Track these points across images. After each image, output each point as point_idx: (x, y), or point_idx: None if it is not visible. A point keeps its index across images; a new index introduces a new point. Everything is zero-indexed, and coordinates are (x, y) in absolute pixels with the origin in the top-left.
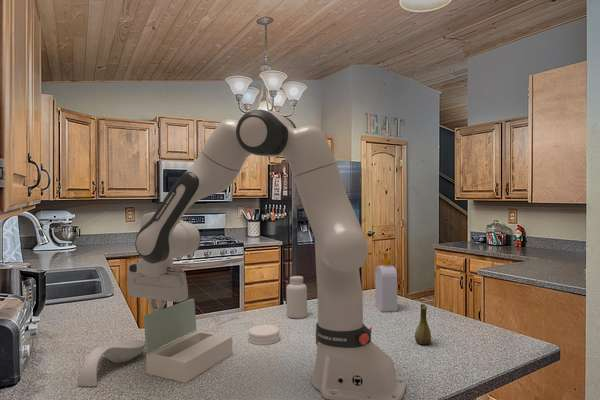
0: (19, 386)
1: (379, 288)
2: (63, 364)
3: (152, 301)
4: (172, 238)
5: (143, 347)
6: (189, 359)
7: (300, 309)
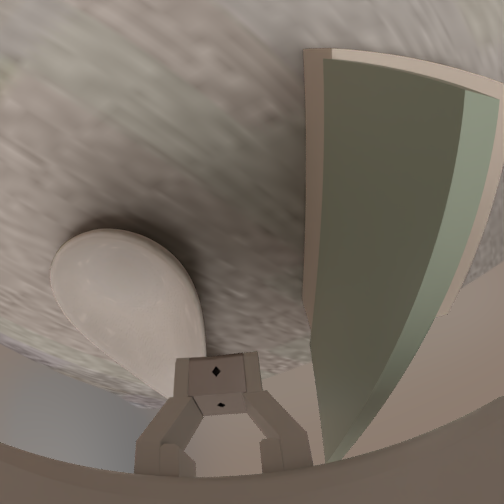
0: (131, 400)
1: None
2: (72, 349)
3: (193, 462)
4: None
5: (185, 270)
6: (452, 300)
7: None
